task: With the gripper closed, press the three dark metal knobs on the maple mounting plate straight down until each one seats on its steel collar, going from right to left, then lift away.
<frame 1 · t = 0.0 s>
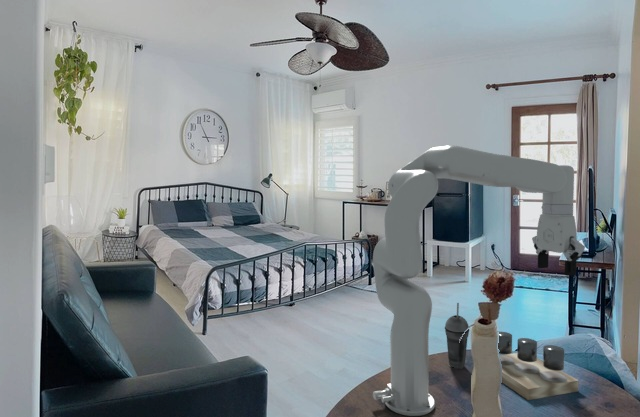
hand: (556, 271, 121), 31 cm above the table, fingers open, 9 cm apart
knob right: (553, 357, 118), point 9 cm above the table, slide at 2.5 cm
mount plate: (526, 378, 124), on the table
knob left: (502, 342, 129), point 9 cm above the table, slide at 2.5 cm
beverage cup: (456, 366, 134), on the table
knob mid: (527, 349, 123), point 9 cm above the table, slide at 2.5 cm
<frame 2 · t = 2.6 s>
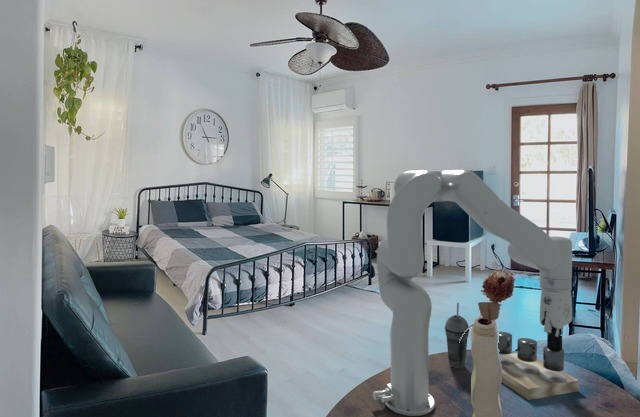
hand: (554, 349, 118), 11 cm above the table, fingers closed
knob right: (553, 358, 118), point 8 cm above the table, slide at 2.3 cm, touching gripper
everything else where it was.
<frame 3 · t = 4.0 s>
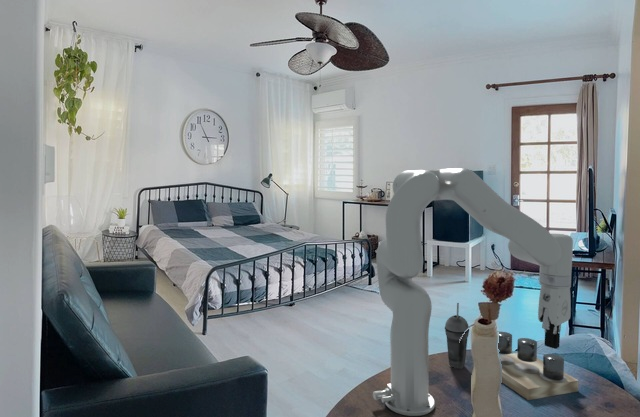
hand: (551, 346, 118), 12 cm above the table, fingers closed
knob right: (553, 366, 118), point 6 cm above the table, slide at -0.1 cm
everything else where it was.
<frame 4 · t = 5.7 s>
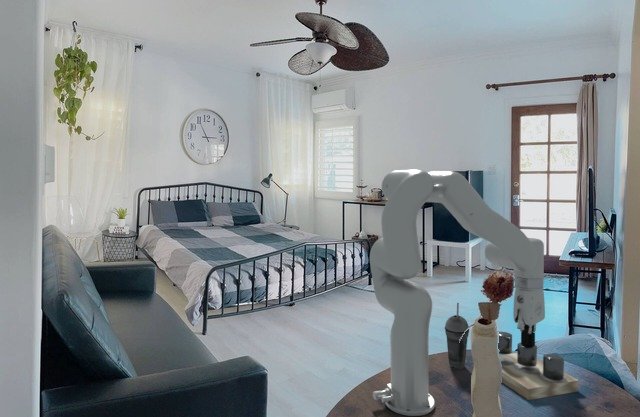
hand: (527, 345, 123), 10 cm above the table, fingers closed
knob mid: (527, 354, 124), point 7 cm above the table, slide at 1.2 cm, touching gripper
everything else where it was.
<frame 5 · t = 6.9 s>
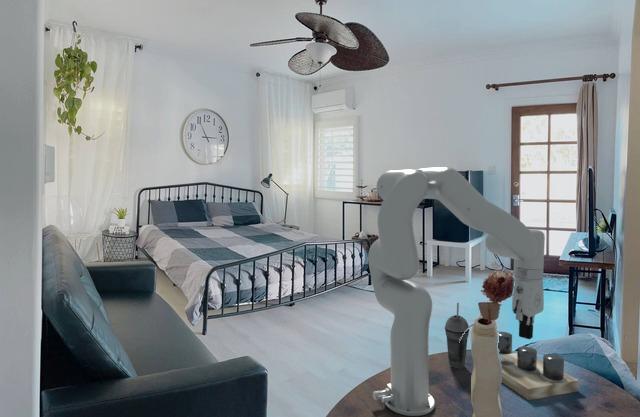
hand: (525, 337, 123), 12 cm above the table, fingers closed
knob mid: (526, 358, 124), point 6 cm above the table, slide at -0.1 cm
everything else where it was.
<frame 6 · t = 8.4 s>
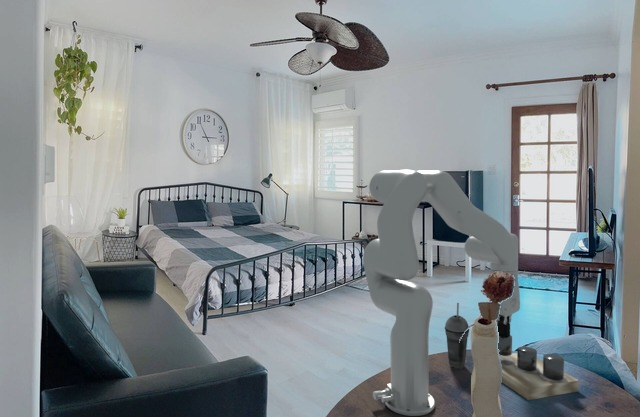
hand: (503, 335, 129), 11 cm above the table, fingers closed
knob left: (502, 344, 129), point 8 cm above the table, slide at 2.0 cm, touching gripper
everything else where it was.
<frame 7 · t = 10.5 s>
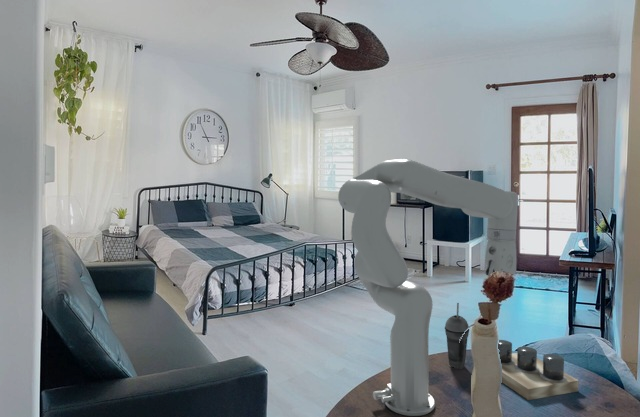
hand: (497, 299, 122), 23 cm above the table, fingers closed
knob left: (502, 351, 129), point 6 cm above the table, slide at -0.1 cm
everything else where it was.
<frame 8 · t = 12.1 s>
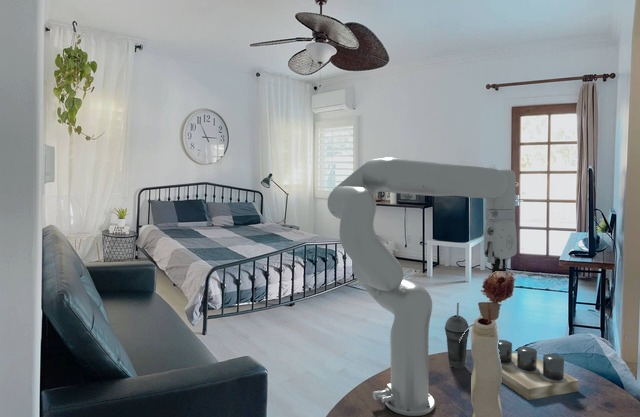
hand: (499, 281, 119), 29 cm above the table, fingers closed
nothing on the table moved.
at the end: knob right slide at -0.1 cm; knob mid slide at -0.1 cm; knob left slide at -0.1 cm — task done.
